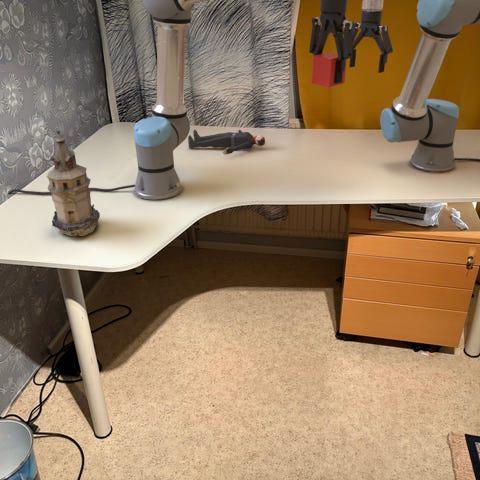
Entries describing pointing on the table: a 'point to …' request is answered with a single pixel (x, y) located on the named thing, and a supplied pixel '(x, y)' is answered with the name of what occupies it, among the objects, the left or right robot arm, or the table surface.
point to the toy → (226, 141)
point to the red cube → (325, 69)
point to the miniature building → (70, 193)
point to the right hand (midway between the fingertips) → (366, 69)
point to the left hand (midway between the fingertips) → (328, 80)
